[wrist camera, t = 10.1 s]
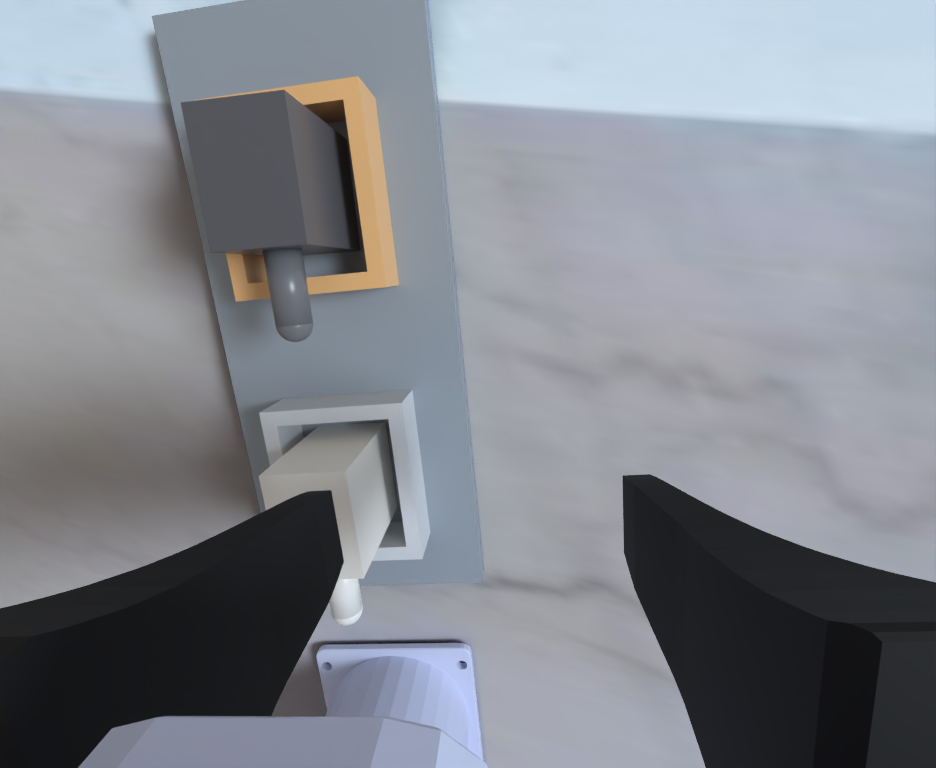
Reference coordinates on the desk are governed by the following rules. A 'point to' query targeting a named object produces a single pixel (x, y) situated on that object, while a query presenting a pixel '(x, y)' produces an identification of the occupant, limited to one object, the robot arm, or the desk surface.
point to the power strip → (349, 289)
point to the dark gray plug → (273, 191)
